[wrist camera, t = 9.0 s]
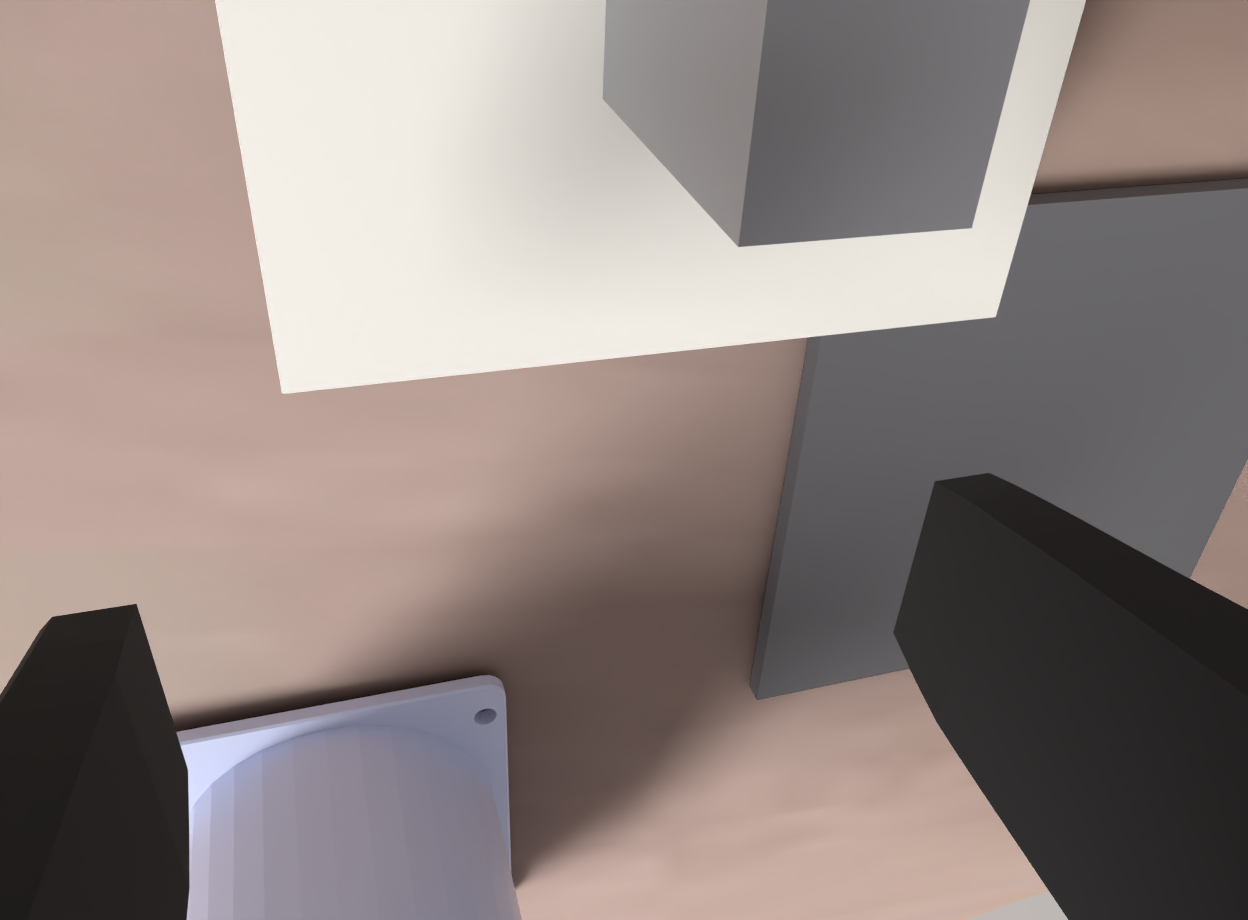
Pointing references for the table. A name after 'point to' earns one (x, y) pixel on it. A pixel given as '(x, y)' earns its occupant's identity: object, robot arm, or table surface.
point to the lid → (629, 172)
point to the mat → (1019, 415)
